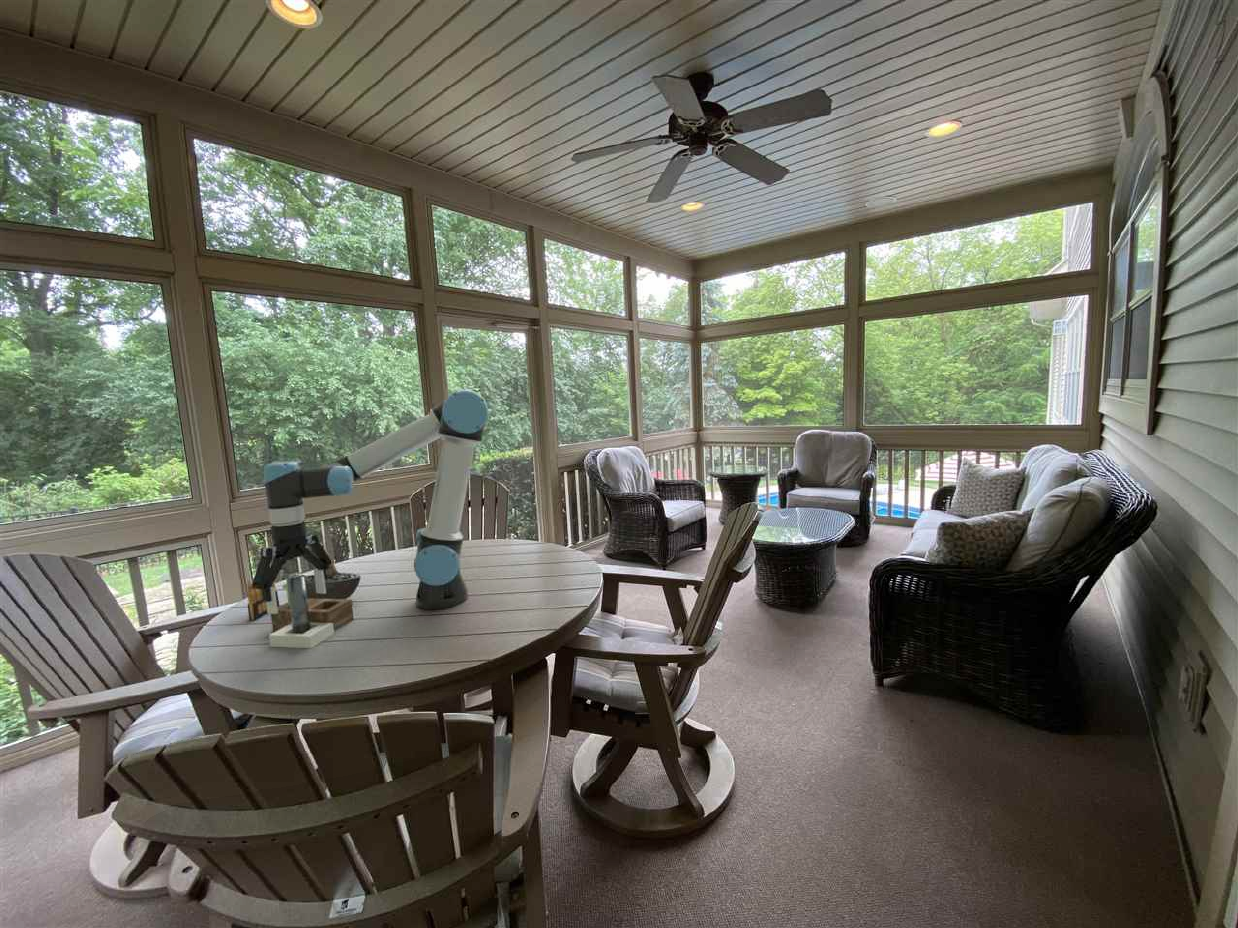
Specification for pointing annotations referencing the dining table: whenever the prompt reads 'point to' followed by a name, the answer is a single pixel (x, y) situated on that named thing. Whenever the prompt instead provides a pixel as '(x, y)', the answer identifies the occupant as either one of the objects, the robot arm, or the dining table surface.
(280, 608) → the socket block
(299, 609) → the grey metal cylinder
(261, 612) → the ammunition clip
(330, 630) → the block
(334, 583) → the planter
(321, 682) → the dining table surface
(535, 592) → the dining table surface
